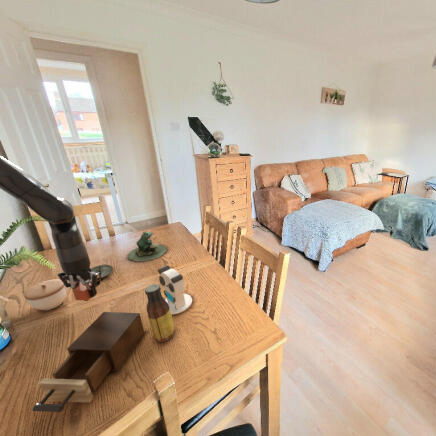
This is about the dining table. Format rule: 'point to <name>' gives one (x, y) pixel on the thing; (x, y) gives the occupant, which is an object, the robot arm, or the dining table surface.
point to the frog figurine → (146, 249)
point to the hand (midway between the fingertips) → (86, 295)
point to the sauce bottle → (159, 314)
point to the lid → (103, 270)
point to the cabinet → (111, 336)
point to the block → (81, 293)
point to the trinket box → (46, 294)
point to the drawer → (74, 380)
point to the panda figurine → (174, 290)
